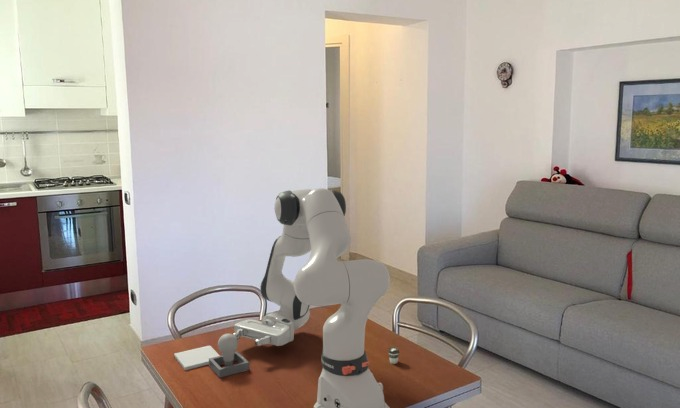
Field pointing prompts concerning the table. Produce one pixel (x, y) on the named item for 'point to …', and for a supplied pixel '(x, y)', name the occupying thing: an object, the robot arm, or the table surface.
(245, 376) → the table surface
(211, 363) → the frame
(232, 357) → the lightbulb
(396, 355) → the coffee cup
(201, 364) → the mat
